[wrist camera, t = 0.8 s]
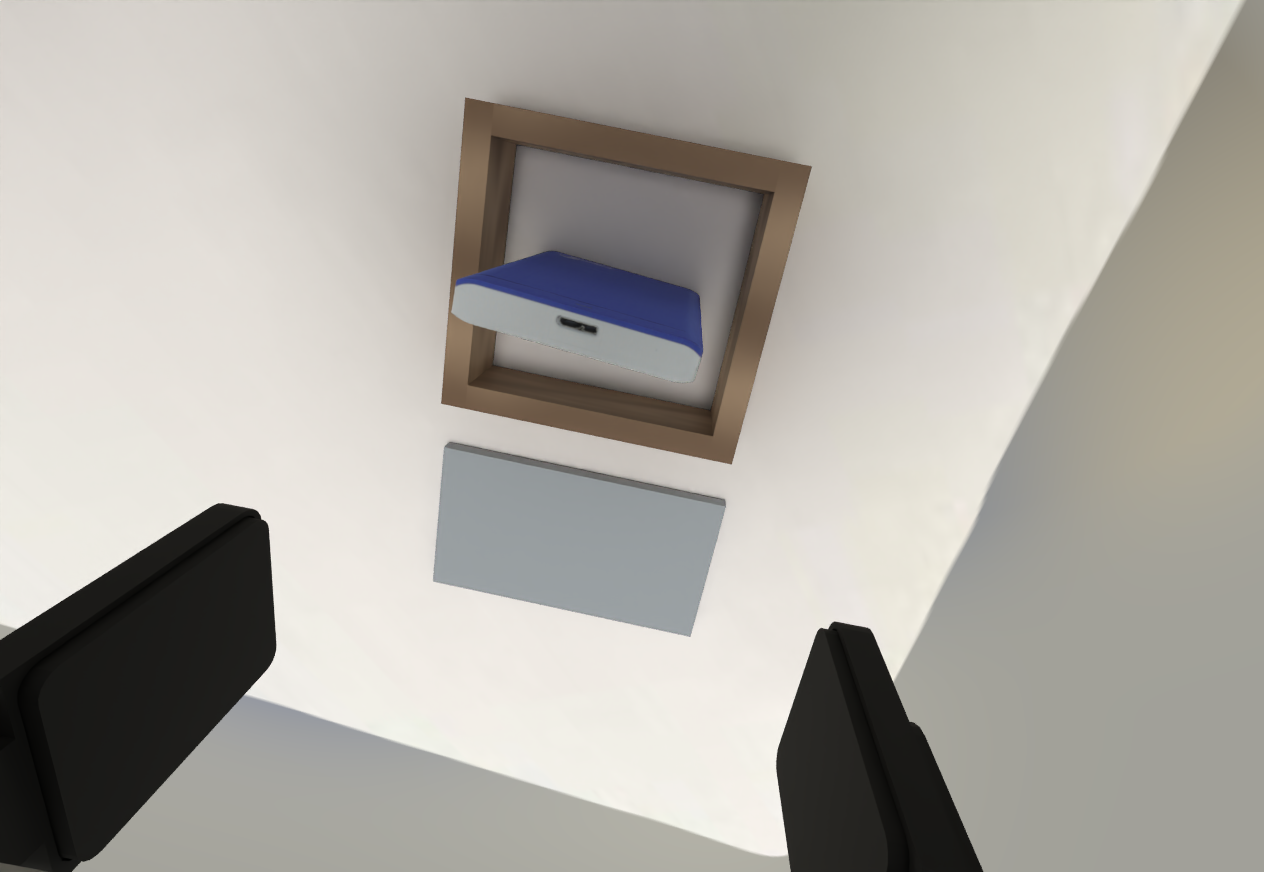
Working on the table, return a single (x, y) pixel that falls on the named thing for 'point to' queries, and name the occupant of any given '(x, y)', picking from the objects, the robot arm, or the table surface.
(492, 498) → the mat
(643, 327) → the hard drive
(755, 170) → the wooden square frame
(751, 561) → the table surface
